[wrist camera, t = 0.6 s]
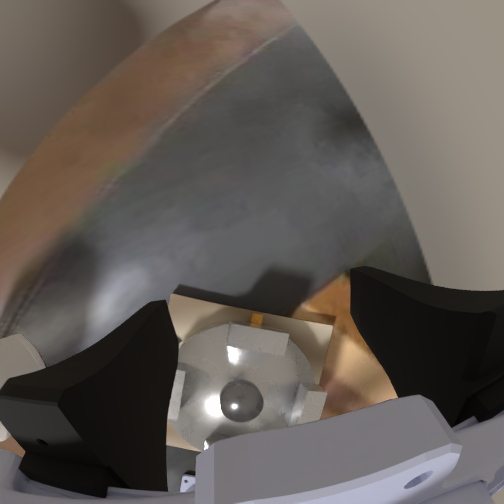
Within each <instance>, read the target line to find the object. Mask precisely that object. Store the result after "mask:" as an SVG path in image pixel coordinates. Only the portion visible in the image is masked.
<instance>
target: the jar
mask: <svg viewBox="0 0 504 504" xmlns="http://www.w3.org/2000/svg"><path fill="white" fill-rule="evenodd" d="M44 368H46V367H45V365H44V362H43V360H42V358H41V357H40V355H39V353H38V352H37V350H36V349H35V348H34V346H33V345H32V344H31V343H30V342H29V341H28V340H27V339H26V338H25V337H23V336H22V335H21V334H14V335H11V336H8V337H5V338H1V339H0V389H1V388H2V386H3V385H4V383H5V382H6V381H7V380H8V379H9V378H11V377H16V376H20V375H24V374H28V373H31V372H35V371H38V370H41V369H44ZM10 435H11V434H10V433H9V432H8V431H7V429H6V428H5V427H4V426H3V424H2V423H1V422H0V442H1V441H4V440H6V439H7V438H8V437H10Z"/></svg>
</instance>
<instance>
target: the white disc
mask: <svg viewBox="0 0 504 504" xmlns="http://www.w3.org/2000/svg"><path fill="white" fill-rule="evenodd" d="M262 319H263V314H261V313H256V312H251V317H250V321H235V320H230V321H226V322H221V323H217V324H213V325H211V326H208V327H206V328H204V329H202V330H200V331H198V332H196V333H195V334H193V335H192V336H191V337H189V338H188V339H187V340H186V341H185V342H184V343H183V344H182V345H181V346H180V347H179V355H178V366H177V371H176V376H175V380H174V385H173V390H172V395H171V400H170V405H169V410H168V418H167V419H169V421H170V423H171V425H172V426H173V428H174V429H175V430H176V432H177V433H178V434H179V435H180V436H181V437H182V438H183V439H184V440H185V441H186V442H188V443H189V444H190V445H192V446H193V447H195V448H197V449H198V450H200V451H202V452H203V451H204V450H206V449H207V448H208V447H209V446H211V445H212V444H213V443H215V442H217V441H219V440H223V439H227V438H231V437H235V436H238V435H242V434H246V433H251V432H258V431H264V430H271V429H277V428H282V427H288V426H293V425H298V424H303V423H308V422H312V421H316V420H320V417H321V414H322V411H323V407H324V404H325V400H326V397H327V394H328V392H327V391H326V390H325V389H323V388H322V387H321V386H320V385H319V384H315V380H314V376H313V371H312V369H311V366H310V364H309V362H308V360H307V358H306V356H305V355H304V354H303V352H302V351H301V350H300V348H299V347H298V346H297V345H296V344H295V343H294V342H293V341H291V340H290V339H288V338H289V333H287V332H286V331H284V330H283V329H277V328H271V327H269V326H266V325H264V324H261V323H262Z"/></svg>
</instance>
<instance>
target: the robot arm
mask: <svg viewBox="0 0 504 504" xmlns="http://www.w3.org/2000/svg"><path fill="white" fill-rule="evenodd" d="M350 285H351V300H350V314H351V316H352V318H353V320H354V323H355V325H356V327H357V329H358V331H359V333H360V334H361V336H362V337H363V339H364V340H365V342H366V343H367V345H368V346H369V348H370V349H371V351H372V352H373V354H374V355H375V357H376V358H377V360H378V361H379V363H380V364H381V366H382V367H383V369H384V370H385V372H386V374H387V375H388V377H389V379H390V381H391V383H392V385H393V387H394V389H395V391H396V394H397V396H398V398H395V399H390V400H387V401H384V402H381V403H378V404H375V405H372V406H369V407H365V408H362V409H359V410H355V411H352V412H348V413H344V414H341V415H337V416H333V417H329V418H325V419H321V420H316V421H312V422H308V423H303V424H298V425H293V426H288V427H282V428H277V429H271V430H264V431H258V432H251V433H246V434H242V435H238V436H235V437H231V438H227V439H223V440H219V441H217V442H215V443H213V444H212V445H211V446H209V447H208V448H207V449H206V450H204V451H203V452H202V453H200V454H199V455H198V456H196V475H195V476H194V475H188V474H185V475H183V477H182V482H181V489H180V492H168V486H167V467H166V437H167V418H168V410H169V405H170V400H171V395H172V390H173V385H174V380H175V376H176V371H177V366H178V355H179V341H178V338H177V335H176V332H175V329H174V325H173V322H172V319H171V316H170V313H169V309H168V306H167V303H166V300H159V301H152V302H149V303H148V304H146V305H145V306H143V307H142V308H141V309H140V310H138V311H137V312H136V313H135V314H133V315H132V316H131V317H130V318H129V319H127V320H126V321H125V322H124V323H122V324H121V325H120V326H119V327H117V328H116V329H115V330H113V331H112V332H111V333H109V334H108V335H107V336H105V337H104V338H103V339H101V340H100V341H98V342H97V343H95V344H94V345H92V346H90V347H89V348H87V349H85V350H84V351H82V352H80V353H78V354H76V355H74V356H72V357H70V358H68V359H66V360H64V361H62V362H59V363H57V364H55V365H52V366H49V367H47V368H44V369H41V370H38V371H35V372H31V373H28V374H24V375H20V376H16V377H11V378H9V379H8V380H7V381H6V382H5V383H4V385H3V386H2V388H1V389H0V422H1V423H2V424H3V426H4V427H5V428H6V429H7V431H8V432H9V433H10V434H11V435H12V437H13V438H14V439H15V440H16V441H17V442H18V444H19V445H20V446H21V447H22V448H23V449H24V450H25V451H26V452H25V454H24V457H23V458H22V457H20V456H19V455H17V454H15V453H13V452H10V451H7V450H4V449H1V448H0V504H495V503H494V501H493V499H492V496H493V495H494V494H496V493H497V492H498V491H499V490H500V489H502V488H503V487H504V290H500V291H471V290H459V289H450V288H445V287H439V286H434V285H429V284H425V283H421V282H418V281H414V280H411V279H407V278H404V277H401V276H398V275H395V274H392V273H389V272H385V271H382V270H379V269H376V268H372V267H368V266H362V267H357V268H352V269H350ZM185 480H187V481H185Z"/></svg>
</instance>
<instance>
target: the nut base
mask: <svg viewBox="0 0 504 504" xmlns="http://www.w3.org/2000/svg"><path fill="white" fill-rule="evenodd" d="M168 309H169V313H170V316H171V319H172V322H173V325H174V329H175V332H176V335H177V338H178V341H179V347H180V346H181V345H182V344H183V343H184V342H185V341H186V340H187V339H188V338H189V337H191V336H192V335H193V334H195V333H196V332H198V331H200V330H202V329H204V328H206V327H208V326H211V325H213V324H217V323H221V322H226V321H230V320H235V321H250V317H251V312H256V313H261V314H263V319H262V323H261V324H264V325H266V326H269V327H271V328H277V329H283V330H284V331H286V332H287V333H289V338H288V339H290V340H291V341H293V342H294V343H295V344H296V345H297V346H298V347H299V348H300V350H301V351H302V352H303V354H304V355H305V356H306V358H307V360H308V362H309V364H310V366H311V369H312V371H313V376H314V380H315V384H319V382H320V378H321V374H322V371H323V367H324V363H325V359H326V355H327V351H328V346H329V342H330V338H331V333H332V329H333V326H332V325H330V324H323V323H317V322H311V321H306V320H300V319H294V318H289V317H283V316H278V315H273V314H267V313H262V312H257V311H252V310H247V309H242V308H237V307H233V306H228V305H223V304H218V303H214V302H209V301H205V300H200V299H196V298H192V297H187V296H183V295H179V294H175V293H171V297H170V302H169V307H168ZM166 445H170V446H175V447H180V448H185V449H190V450H195V451H200V450H198V449H197V448H195V447H193V446H192V445H190V444H189V443H188V442H186V441H185V440H184V439H183V438H182V437H181V436H180V435H179V434H178V433H177V432H176V430H175V429H174V428H173V426H172V425H171V423H170V421H169V419H167V437H166ZM201 452H202V451H201Z"/></svg>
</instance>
